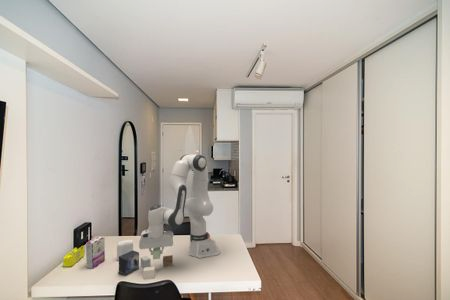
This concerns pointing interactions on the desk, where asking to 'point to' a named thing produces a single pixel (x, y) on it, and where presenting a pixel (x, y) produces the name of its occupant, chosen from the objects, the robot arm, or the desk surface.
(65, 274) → the desk surface
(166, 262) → the walnut brick
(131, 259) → the small box
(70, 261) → the yellow toy chassis
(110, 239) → the desk surface
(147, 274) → the cream brick
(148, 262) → the grey brick
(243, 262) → the desk surface
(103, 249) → the candy bar box
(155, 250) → the sage brick
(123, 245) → the photo printer
